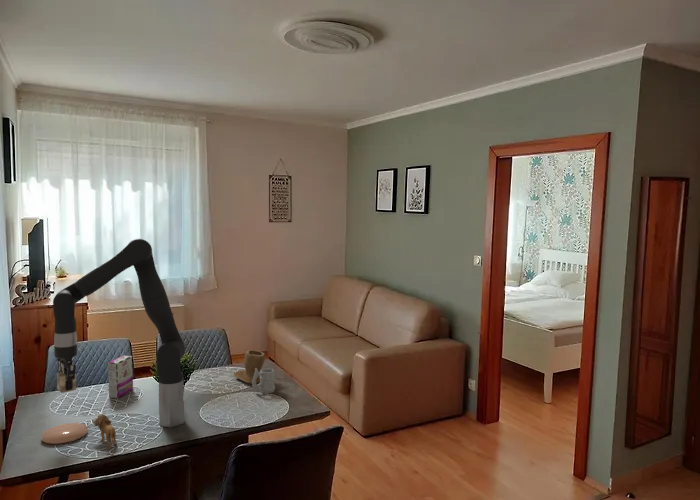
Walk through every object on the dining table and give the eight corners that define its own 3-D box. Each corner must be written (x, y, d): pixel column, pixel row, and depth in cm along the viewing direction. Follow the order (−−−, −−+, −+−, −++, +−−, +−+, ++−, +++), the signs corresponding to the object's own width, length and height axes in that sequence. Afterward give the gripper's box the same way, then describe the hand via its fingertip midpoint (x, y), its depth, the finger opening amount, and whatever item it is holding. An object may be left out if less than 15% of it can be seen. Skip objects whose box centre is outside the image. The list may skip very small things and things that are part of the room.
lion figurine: (91, 438, 186) (91, 415, 185) (106, 434, 190) (105, 411, 189) (110, 451, 176) (110, 427, 176) (125, 446, 181) (124, 422, 180)
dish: (93, 436, 188) (93, 432, 188) (48, 449, 177) (48, 445, 177) (79, 423, 198) (79, 419, 198) (36, 435, 187) (36, 431, 187)
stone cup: (269, 381, 250) (269, 352, 249) (247, 387, 242) (248, 356, 241) (253, 373, 262) (253, 345, 260) (232, 378, 254) (233, 349, 253)
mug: (278, 391, 238) (278, 366, 237) (256, 396, 230) (256, 371, 229) (270, 386, 244) (270, 362, 242) (248, 391, 236) (248, 367, 235)
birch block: (76, 389, 189) (75, 374, 188) (61, 392, 185) (61, 377, 185) (71, 386, 193) (71, 370, 192) (57, 389, 189) (57, 373, 188)
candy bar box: (123, 389, 236) (123, 355, 234) (133, 390, 235) (132, 355, 233) (107, 397, 225) (107, 362, 224) (117, 398, 224) (117, 363, 223)
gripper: (83, 345, 185) (83, 390, 187) (70, 338, 195) (71, 380, 197) (60, 349, 180) (61, 395, 181) (49, 341, 190) (50, 385, 191)
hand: (66, 387), depth 189 cm, fingers closed on birch block, 5 cm apart
